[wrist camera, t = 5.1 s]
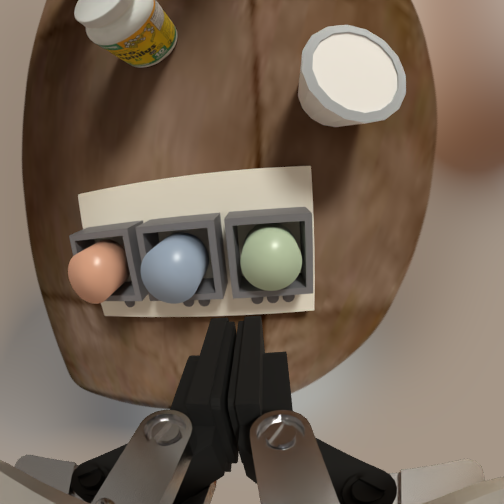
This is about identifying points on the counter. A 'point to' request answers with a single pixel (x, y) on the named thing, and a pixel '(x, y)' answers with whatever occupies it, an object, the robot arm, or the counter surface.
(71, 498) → the robot arm
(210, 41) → the counter surface
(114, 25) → the supplement bottle
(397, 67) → the white tapered cup
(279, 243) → the button three
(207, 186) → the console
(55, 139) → the counter surface
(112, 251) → the button one
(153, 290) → the button two
